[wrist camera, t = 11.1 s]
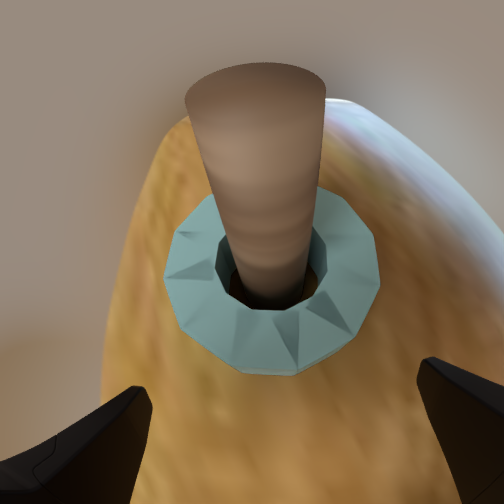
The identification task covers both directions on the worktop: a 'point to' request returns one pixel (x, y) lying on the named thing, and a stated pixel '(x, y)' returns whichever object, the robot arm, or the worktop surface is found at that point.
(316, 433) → the worktop surface
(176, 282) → the bead
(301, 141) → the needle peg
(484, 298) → the worktop surface
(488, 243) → the worktop surface
